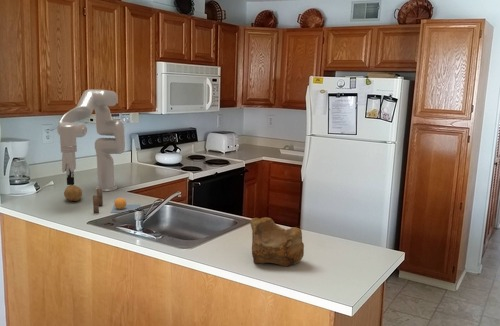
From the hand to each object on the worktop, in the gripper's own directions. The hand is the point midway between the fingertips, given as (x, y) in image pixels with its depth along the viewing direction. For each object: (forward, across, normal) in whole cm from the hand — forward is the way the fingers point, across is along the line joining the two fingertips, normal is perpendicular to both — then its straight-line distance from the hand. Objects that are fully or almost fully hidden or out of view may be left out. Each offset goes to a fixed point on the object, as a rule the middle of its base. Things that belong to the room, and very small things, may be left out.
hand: (70, 184), depth 238 cm
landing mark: (+13, 0, +27) cm, 30 cm away
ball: (+10, +1, +24) cm, 26 cm away
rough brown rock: (+14, +78, +88) cm, 118 cm away
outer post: (+13, +6, +13) cm, 20 cm away
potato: (+14, -19, -3) cm, 24 cm away
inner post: (+13, -6, +13) cm, 20 cm away
